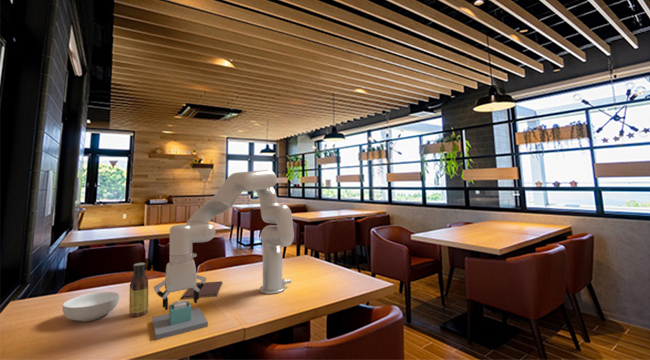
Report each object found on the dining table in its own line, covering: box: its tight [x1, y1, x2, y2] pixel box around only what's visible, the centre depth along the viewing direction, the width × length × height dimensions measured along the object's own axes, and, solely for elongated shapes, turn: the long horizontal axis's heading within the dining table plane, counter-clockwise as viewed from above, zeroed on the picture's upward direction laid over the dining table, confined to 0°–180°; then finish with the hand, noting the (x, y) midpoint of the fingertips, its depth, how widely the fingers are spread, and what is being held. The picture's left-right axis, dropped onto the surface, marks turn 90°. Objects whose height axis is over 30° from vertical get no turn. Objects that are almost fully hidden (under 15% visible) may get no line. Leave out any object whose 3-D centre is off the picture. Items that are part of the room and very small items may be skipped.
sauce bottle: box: [128, 262, 149, 318], centre depth 111 cm, size 6×6×20 cm
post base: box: [151, 299, 209, 341], centre depth 102 cm, size 16×16×8 cm
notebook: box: [181, 280, 223, 300], centre depth 138 cm, size 15×20×2 cm
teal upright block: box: [168, 300, 192, 325], centre depth 102 cm, size 6×6×5 cm
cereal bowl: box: [62, 291, 120, 322], centre depth 109 cm, size 17×17×7 cm
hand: (181, 305), depth 103 cm, fingers open, 9 cm apart
